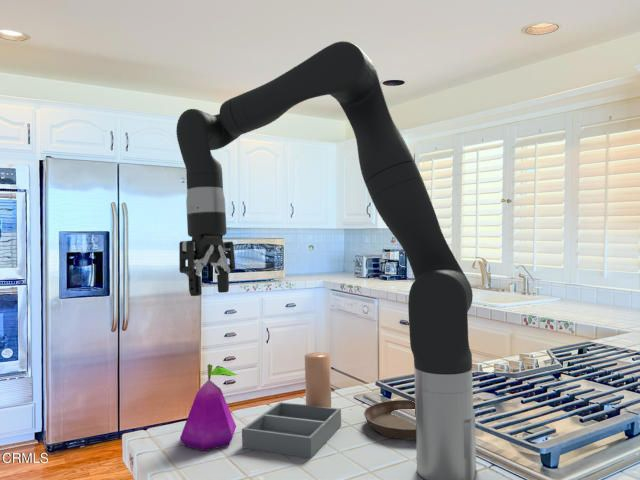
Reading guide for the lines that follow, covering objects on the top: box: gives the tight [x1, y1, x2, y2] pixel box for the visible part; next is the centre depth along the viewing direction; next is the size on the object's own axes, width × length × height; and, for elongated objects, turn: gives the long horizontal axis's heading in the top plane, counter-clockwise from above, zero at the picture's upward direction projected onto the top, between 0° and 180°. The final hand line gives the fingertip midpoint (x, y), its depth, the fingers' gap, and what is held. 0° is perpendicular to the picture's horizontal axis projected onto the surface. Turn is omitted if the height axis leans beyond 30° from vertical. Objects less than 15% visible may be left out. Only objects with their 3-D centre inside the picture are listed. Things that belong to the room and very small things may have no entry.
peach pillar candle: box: [304, 352, 332, 408], centre depth 111 cm, size 6×6×13 cm
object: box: [363, 399, 416, 441], centre depth 103 cm, size 18×18×3 cm
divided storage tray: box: [241, 401, 342, 459], centre depth 99 cm, size 14×16×4 cm
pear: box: [179, 363, 238, 452], centre depth 98 cm, size 11×11×15 cm
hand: (210, 294), depth 99 cm, fingers open, 8 cm apart
